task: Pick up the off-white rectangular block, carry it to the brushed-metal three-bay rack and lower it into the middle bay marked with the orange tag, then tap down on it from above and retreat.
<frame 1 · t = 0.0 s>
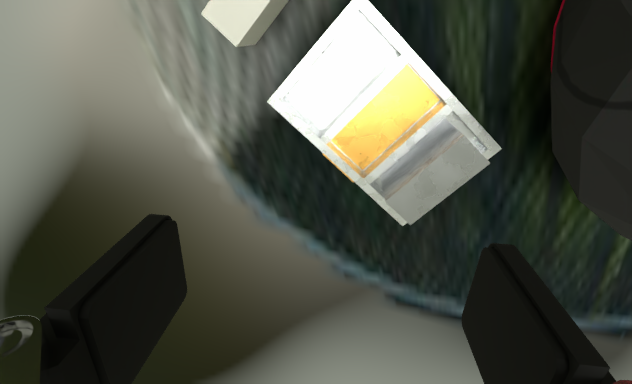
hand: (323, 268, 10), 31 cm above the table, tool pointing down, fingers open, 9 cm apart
rack: (381, 118, 39), on the table
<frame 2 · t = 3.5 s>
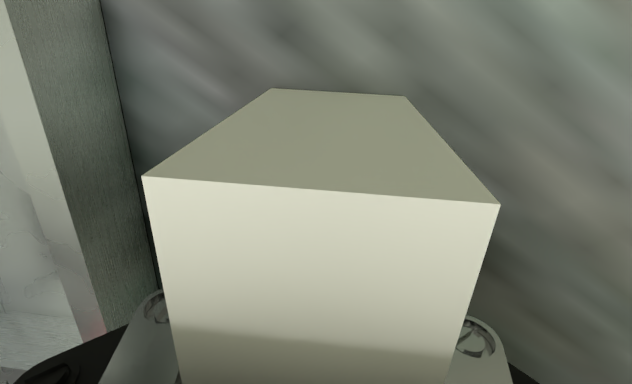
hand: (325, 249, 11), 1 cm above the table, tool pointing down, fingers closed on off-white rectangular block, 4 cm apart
off-white rectangular block: (327, 233, 12), on the table, touching gripper
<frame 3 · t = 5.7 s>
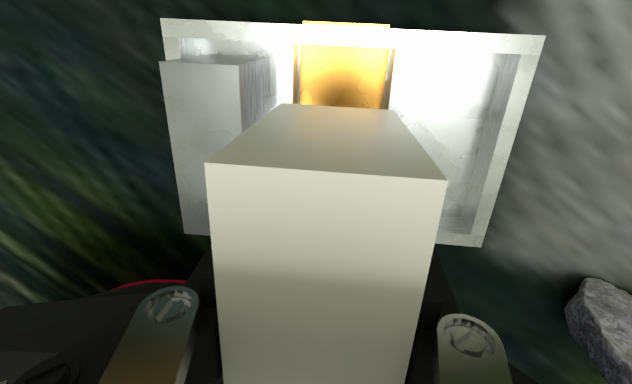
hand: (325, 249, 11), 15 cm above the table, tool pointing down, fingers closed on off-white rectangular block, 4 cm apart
helmet: (193, 340, 36), on the table
rack: (338, 132, 25), on the table
off-white rectangular block: (328, 229, 14), point 12 cm above the table, touching gripper
rock: (604, 296, 29), on the table
when the fingers open (4 cm above the table, at t = 8.3 s): off-white rectangular block stays where it is, resting on rack.
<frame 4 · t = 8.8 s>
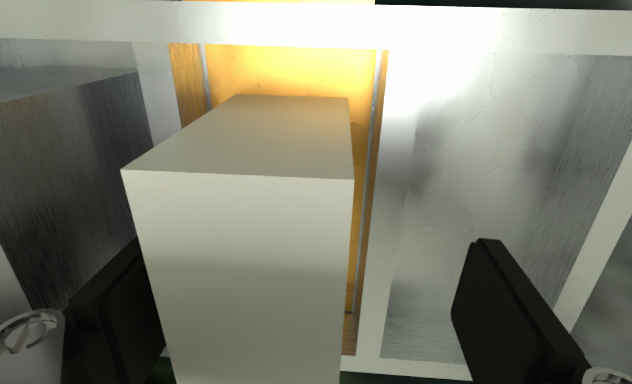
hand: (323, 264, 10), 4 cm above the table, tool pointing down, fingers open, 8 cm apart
rack: (293, 194, 14), on the table
off-white rectangular block: (293, 216, 14), point 1 cm above the table, touching rack
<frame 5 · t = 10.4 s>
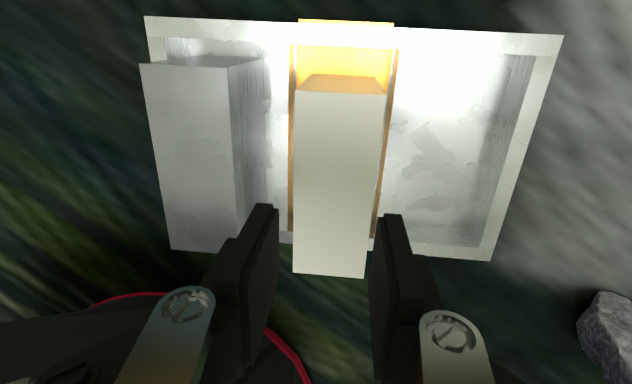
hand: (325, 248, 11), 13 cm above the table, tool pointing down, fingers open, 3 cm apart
helmet: (186, 353, 35), on the table
rack: (337, 138, 23), on the table
off-white rectangular block: (337, 151, 23), point 1 cm above the table, touching rack
rock: (618, 310, 27), on the table
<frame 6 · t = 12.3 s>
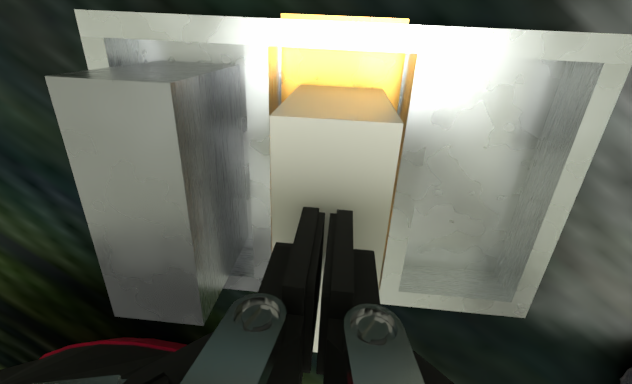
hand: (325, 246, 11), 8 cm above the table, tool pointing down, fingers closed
rack: (334, 164, 19), on the table
off-white rectangular block: (334, 180, 18), point 1 cm above the table, touching rack
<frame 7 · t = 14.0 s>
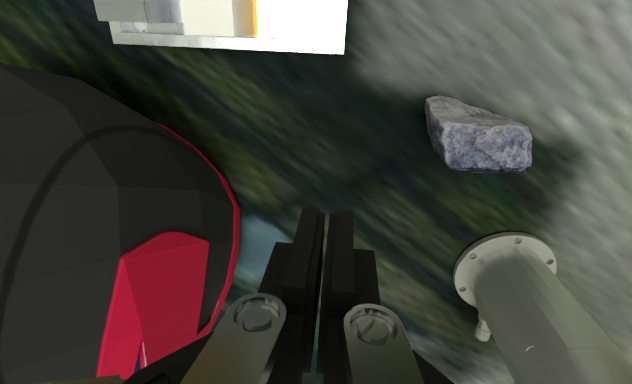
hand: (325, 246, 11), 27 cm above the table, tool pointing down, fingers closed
helmet: (137, 186, 43), on the table
rock: (459, 116, 36), on the table
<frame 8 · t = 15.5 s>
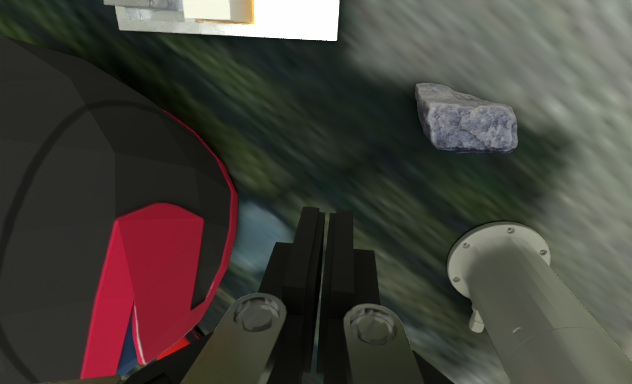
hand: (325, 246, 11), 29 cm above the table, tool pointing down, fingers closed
helmet: (140, 171, 44), on the table
athletic shoe: (194, 351, 59), on the table
rock: (450, 104, 37), on the table
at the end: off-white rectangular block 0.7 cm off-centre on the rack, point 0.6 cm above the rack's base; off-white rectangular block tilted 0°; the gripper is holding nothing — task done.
